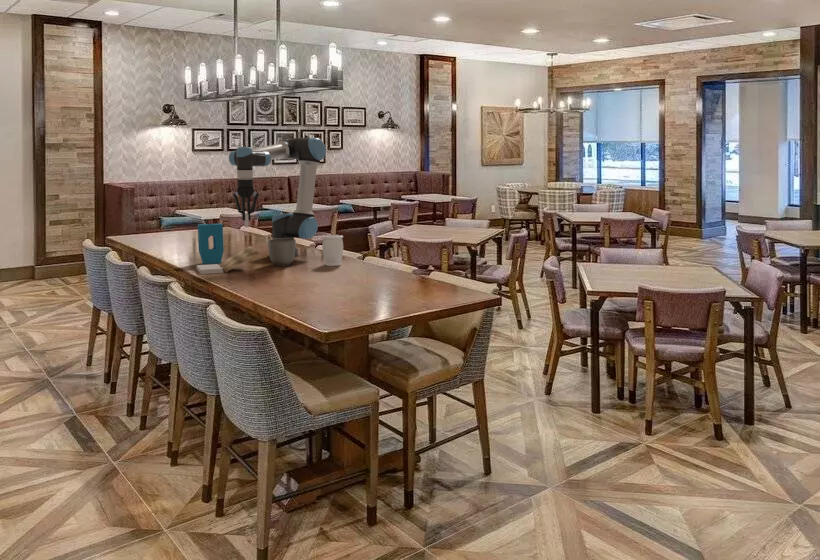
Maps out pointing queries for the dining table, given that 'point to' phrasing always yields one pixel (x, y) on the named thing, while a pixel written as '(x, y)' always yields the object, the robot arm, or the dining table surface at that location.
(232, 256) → the plank
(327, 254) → the jar
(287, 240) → the planter
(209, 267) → the floor board
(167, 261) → the dining table surface
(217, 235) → the block
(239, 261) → the plank
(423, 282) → the dining table surface
